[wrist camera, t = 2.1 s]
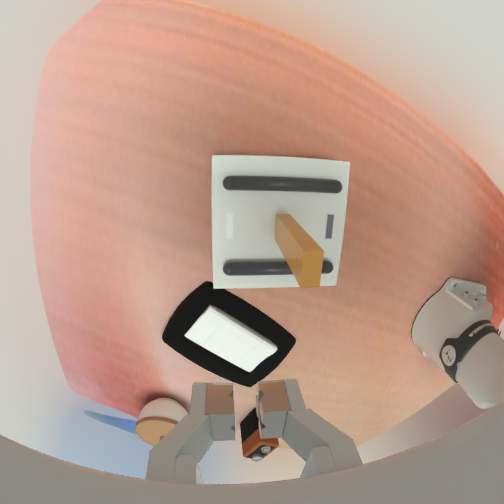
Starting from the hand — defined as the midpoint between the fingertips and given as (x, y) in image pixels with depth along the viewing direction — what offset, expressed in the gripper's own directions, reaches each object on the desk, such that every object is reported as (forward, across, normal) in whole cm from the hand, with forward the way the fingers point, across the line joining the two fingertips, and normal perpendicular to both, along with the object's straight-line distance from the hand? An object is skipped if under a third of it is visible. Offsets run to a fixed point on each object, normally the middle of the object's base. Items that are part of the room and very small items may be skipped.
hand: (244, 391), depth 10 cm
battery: (+29, -5, +42) cm, 51 cm away
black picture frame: (+30, 0, +20) cm, 36 cm away
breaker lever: (+24, -6, 0) cm, 24 cm away
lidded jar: (+29, +13, +38) cm, 50 cm away
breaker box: (+29, -6, 0) cm, 30 cm away
